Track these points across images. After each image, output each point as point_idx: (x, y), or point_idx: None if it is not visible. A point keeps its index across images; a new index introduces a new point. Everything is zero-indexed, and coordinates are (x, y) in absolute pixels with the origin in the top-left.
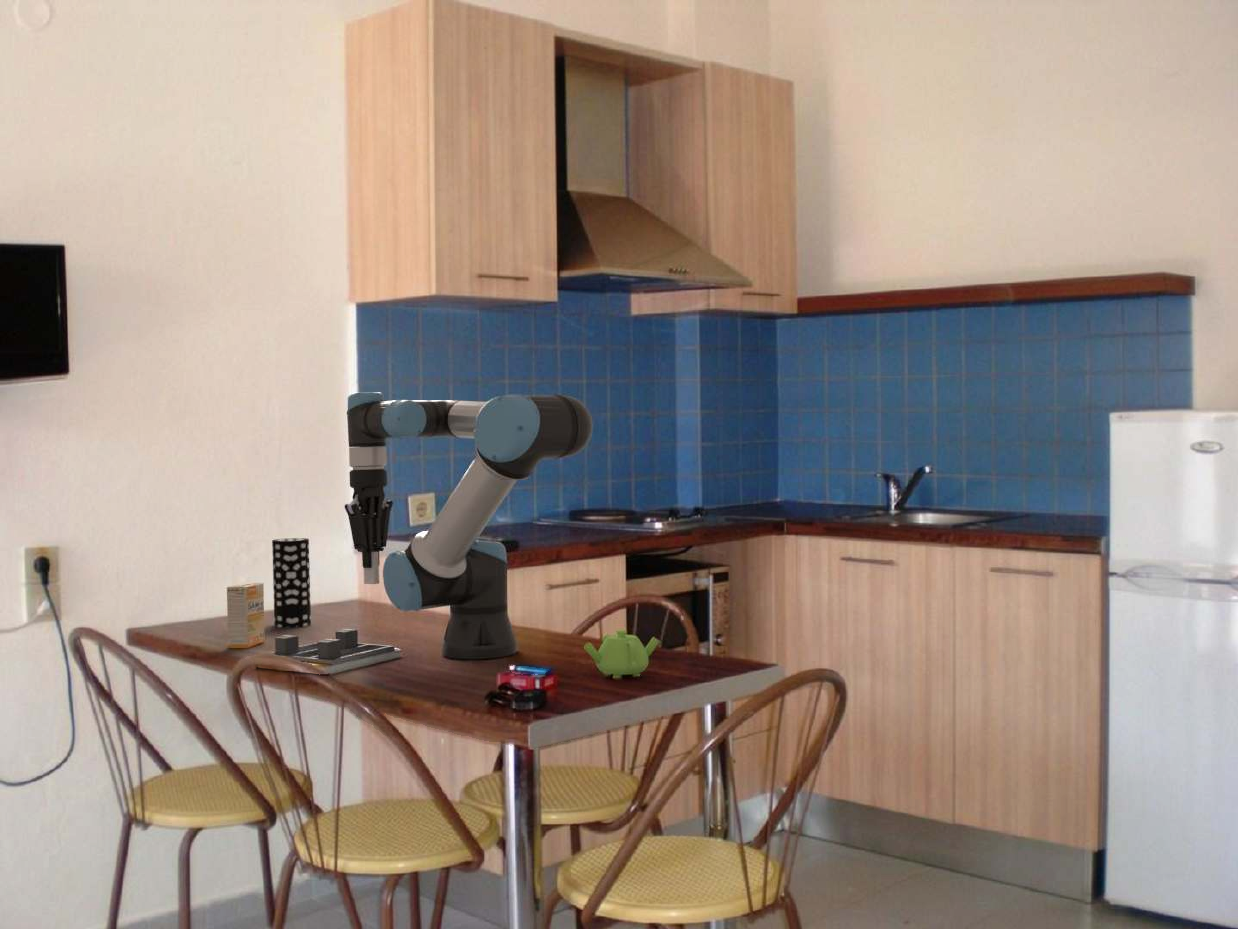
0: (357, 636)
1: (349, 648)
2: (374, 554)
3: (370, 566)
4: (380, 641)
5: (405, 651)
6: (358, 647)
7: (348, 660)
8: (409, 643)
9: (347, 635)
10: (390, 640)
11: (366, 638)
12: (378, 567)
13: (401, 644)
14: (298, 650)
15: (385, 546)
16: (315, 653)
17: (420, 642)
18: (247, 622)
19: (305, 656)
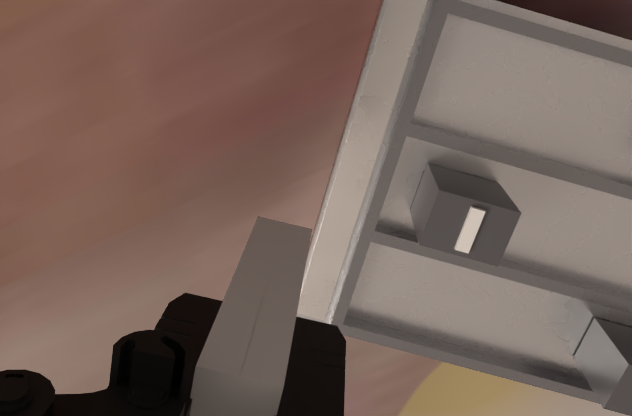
0: (436, 179)
1: (521, 165)
2: (275, 365)
3: (309, 327)
4: (61, 225)
5: (250, 19)
6: (480, 142)
7: None
8: (66, 89)
9: (503, 202)
10: (28, 197)
11: (20, 301)
12: (239, 274)
13: (98, 113)
14: (604, 329)
15: (8, 370)
16: (558, 276)
17: (28, 52)
18: None
19: (609, 289)
